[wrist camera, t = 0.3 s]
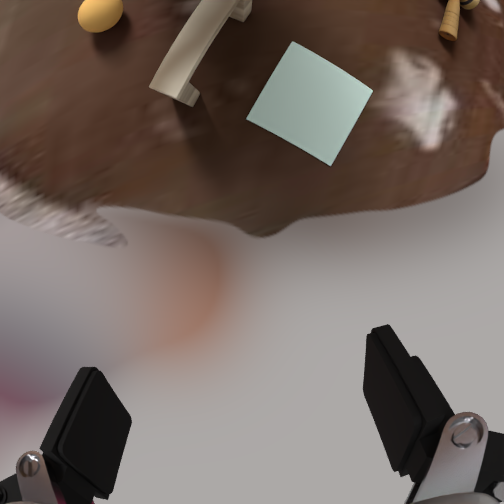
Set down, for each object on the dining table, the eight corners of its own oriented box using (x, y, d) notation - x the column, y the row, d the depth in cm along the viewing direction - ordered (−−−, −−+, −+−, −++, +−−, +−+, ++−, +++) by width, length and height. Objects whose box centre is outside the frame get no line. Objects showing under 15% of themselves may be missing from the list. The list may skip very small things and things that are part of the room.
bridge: (171, 98, 33) (148, 87, 24) (230, 2, 28) (226, -33, 19) (192, 107, 33) (176, 98, 24) (251, 11, 29) (254, -23, 20)
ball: (104, -3, 26) (86, -18, 20) (137, 5, 27) (122, -12, 22) (82, 32, 28) (61, 22, 22) (114, 41, 29) (95, 29, 23)
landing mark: (292, 41, 30) (292, 41, 30) (372, 90, 33) (373, 90, 33) (246, 119, 34) (246, 119, 34) (330, 166, 37) (330, 166, 36)
